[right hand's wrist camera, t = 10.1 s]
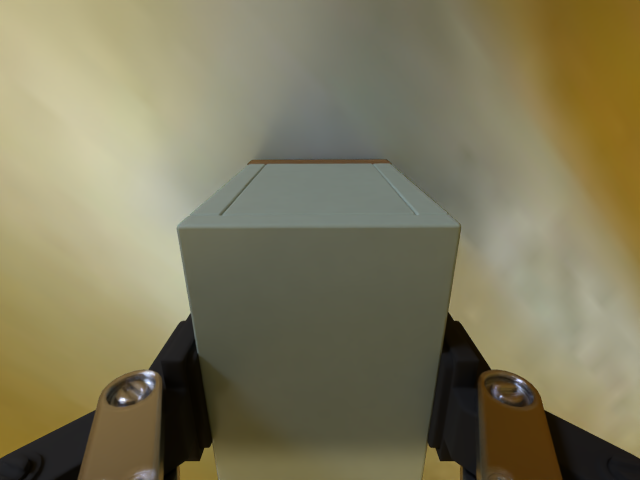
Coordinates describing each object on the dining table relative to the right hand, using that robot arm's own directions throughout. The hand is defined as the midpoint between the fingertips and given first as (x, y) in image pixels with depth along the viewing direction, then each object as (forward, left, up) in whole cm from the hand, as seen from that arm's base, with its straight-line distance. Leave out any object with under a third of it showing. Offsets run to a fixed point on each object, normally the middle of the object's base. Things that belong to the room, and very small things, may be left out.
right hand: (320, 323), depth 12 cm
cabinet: (+4, -3, -5) cm, 8 cm away
